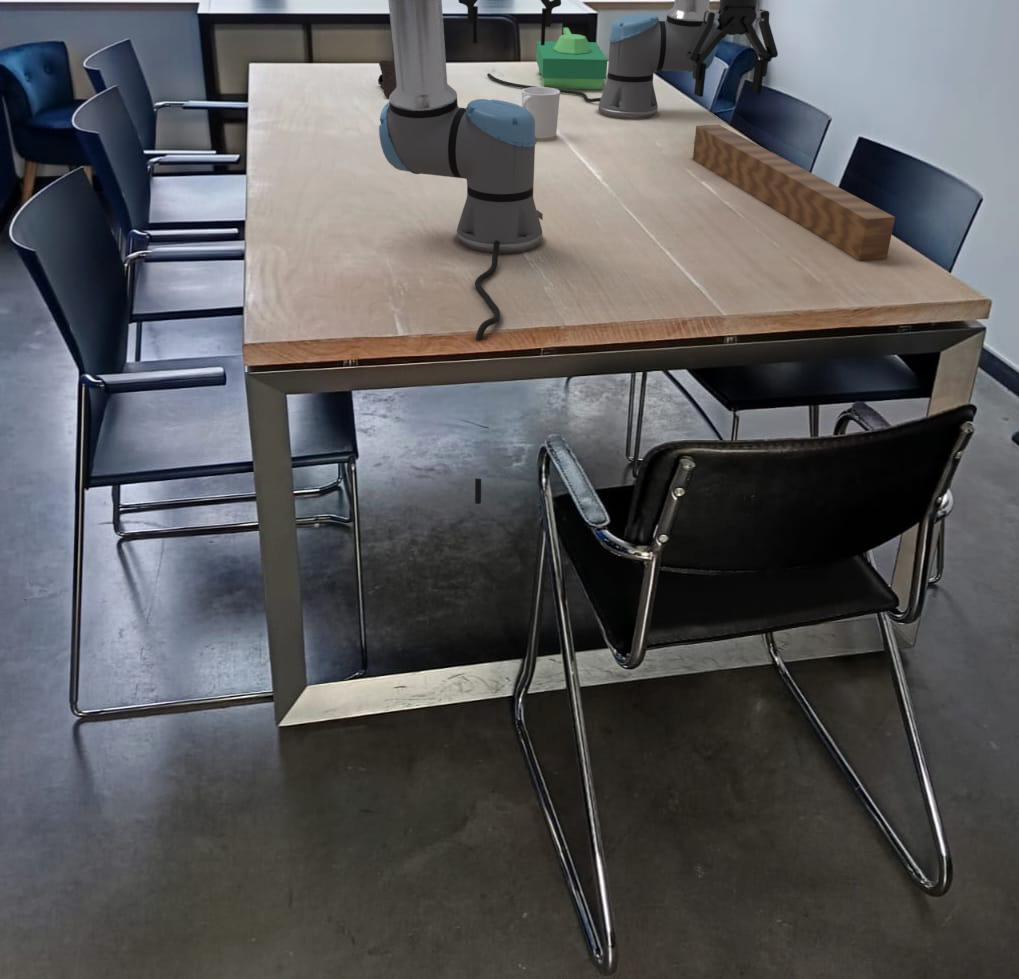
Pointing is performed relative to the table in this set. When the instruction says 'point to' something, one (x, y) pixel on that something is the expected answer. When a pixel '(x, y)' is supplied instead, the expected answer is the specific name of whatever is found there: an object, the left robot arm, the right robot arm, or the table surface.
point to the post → (796, 193)
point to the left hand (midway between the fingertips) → (509, 43)
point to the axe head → (387, 77)
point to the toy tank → (571, 63)
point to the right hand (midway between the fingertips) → (727, 94)
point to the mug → (542, 110)
